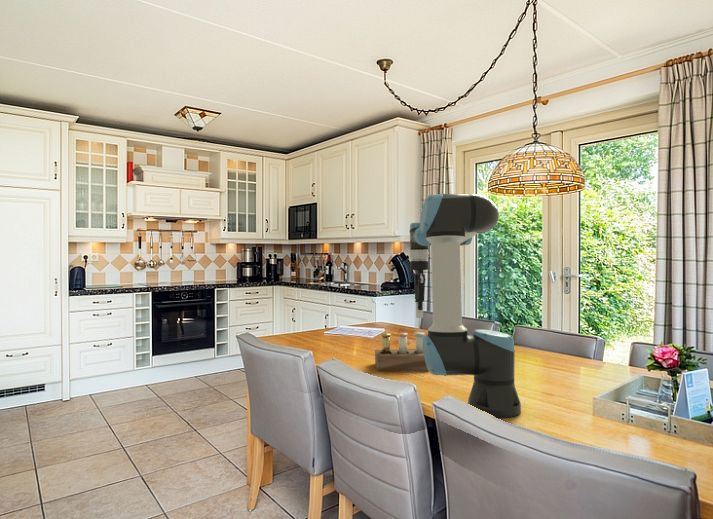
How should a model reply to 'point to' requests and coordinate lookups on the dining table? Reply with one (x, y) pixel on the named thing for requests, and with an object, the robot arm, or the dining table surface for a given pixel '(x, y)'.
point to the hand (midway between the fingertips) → (419, 317)
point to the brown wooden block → (400, 361)
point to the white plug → (402, 343)
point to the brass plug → (385, 343)
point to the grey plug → (419, 342)
